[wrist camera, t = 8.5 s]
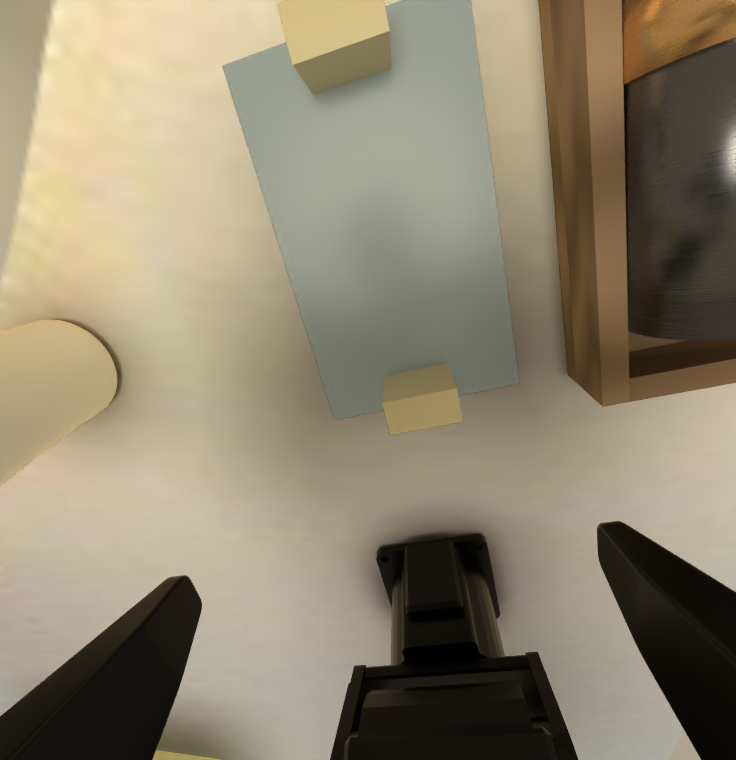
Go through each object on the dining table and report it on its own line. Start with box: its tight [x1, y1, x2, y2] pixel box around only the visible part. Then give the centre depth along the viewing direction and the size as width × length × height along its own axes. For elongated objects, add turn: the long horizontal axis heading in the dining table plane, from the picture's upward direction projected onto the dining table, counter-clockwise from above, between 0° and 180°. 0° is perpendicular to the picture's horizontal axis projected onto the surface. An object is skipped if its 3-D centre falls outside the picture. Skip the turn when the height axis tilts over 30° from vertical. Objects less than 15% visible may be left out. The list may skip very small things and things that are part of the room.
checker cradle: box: [222, 0, 519, 435], centre depth 15 cm, size 15×9×4 cm, turn 14°
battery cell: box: [622, 0, 736, 341], centre depth 12 cm, size 10×5×5 cm, turn 14°
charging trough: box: [539, 0, 736, 406], centre depth 14 cm, size 16×9×4 cm, turn 14°
